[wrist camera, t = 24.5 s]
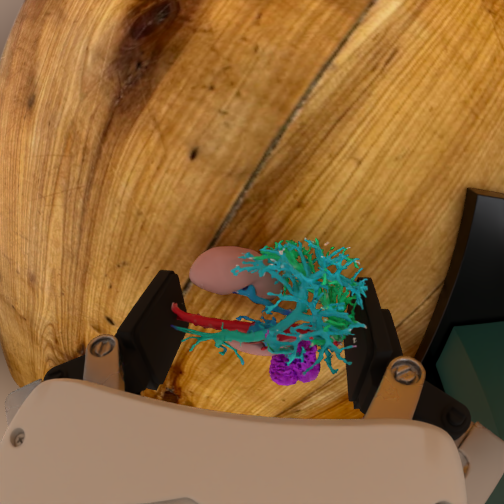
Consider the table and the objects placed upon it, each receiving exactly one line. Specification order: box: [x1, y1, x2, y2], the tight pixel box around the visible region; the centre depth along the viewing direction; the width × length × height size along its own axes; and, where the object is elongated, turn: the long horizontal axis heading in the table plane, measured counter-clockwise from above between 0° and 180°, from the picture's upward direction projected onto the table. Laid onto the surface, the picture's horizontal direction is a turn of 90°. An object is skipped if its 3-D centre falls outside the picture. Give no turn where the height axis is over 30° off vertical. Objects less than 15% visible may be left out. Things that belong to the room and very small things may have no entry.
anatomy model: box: [171, 238, 368, 386], centre depth 10 cm, size 5×8×7 cm
